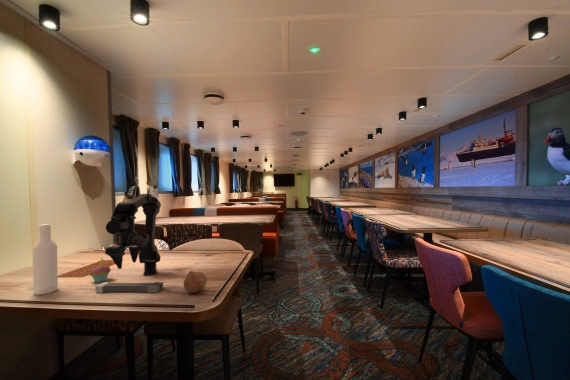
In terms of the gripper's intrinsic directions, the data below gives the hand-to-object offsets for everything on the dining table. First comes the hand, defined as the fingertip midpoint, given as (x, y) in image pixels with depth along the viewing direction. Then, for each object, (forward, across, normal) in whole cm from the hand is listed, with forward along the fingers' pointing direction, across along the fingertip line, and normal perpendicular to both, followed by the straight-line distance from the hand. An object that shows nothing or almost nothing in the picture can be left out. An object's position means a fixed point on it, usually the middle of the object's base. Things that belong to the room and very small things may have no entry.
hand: (127, 265), depth 108 cm
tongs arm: (+11, +1, -3) cm, 11 cm away
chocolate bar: (+12, +32, +43) cm, 55 cm away
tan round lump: (+12, -1, -31) cm, 33 cm away
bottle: (+11, -1, +37) cm, 39 cm away
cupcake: (+11, +12, +23) cm, 28 cm away
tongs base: (+11, 0, -1) cm, 11 cm away
